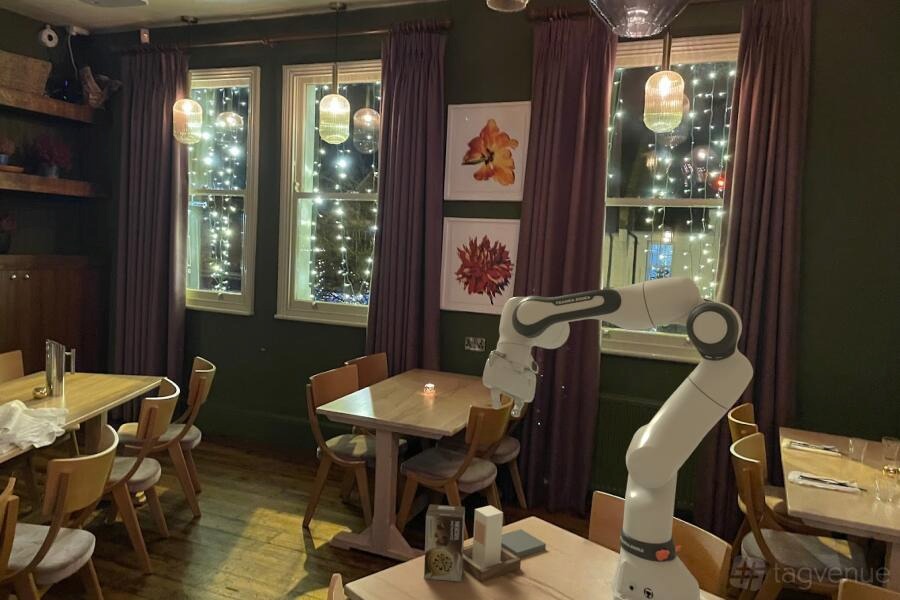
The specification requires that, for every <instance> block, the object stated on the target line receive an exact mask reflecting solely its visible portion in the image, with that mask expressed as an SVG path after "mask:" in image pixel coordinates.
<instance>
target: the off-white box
mask: <svg viewBox="0 0 900 600" xmlns="http://www.w3.org/2000/svg"><path fill="white" fill-rule="evenodd" d="M503 520H504V512H503V511H501V510H499V509H497V508H496V507H494V506H492V505H486V506H483V507H478V508H475V509H474V521H473V522H474V523H473V537H472V538H473V541H472V545H473V553H472V557H471V560H472V561H474V562H475V563H476V564H478V565H479V566H481V567H482V568H486V567H489V566H492V565H495V564H498V563H501V559H500V556H501V539H502V533H503V522H504V521H503Z"/></svg>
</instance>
